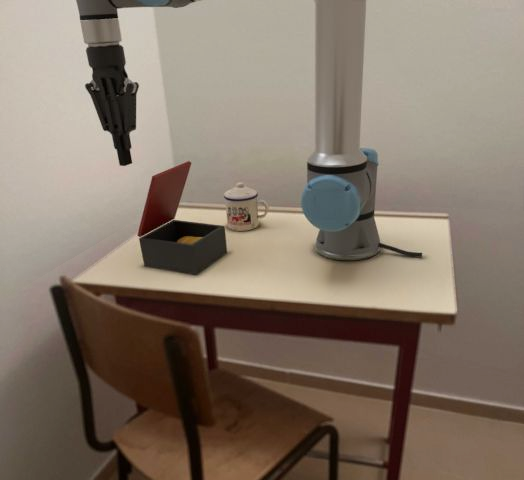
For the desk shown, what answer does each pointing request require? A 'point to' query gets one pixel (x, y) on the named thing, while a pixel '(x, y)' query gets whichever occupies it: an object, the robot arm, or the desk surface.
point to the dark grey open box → (183, 246)
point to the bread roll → (188, 239)
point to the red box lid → (163, 198)
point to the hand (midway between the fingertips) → (126, 164)
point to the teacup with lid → (243, 208)
